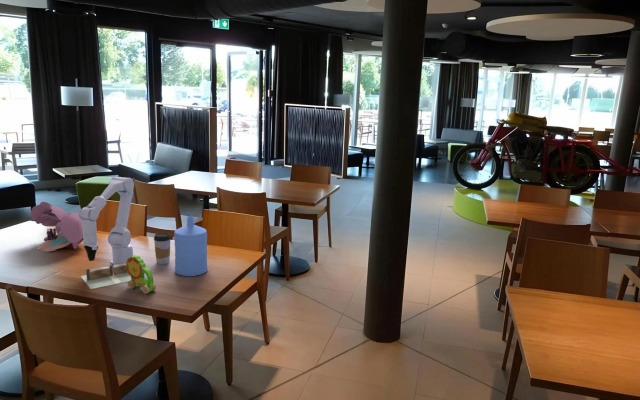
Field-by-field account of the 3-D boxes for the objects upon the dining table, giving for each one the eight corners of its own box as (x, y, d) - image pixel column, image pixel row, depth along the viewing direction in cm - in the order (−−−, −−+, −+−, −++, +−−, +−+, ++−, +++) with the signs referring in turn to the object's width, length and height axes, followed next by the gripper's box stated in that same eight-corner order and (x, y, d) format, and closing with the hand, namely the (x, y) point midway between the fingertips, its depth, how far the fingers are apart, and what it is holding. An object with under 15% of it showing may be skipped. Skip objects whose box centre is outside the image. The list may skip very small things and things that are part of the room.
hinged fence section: (109, 274, 231) (108, 265, 230) (110, 275, 230) (109, 266, 229) (86, 279, 225) (85, 269, 224) (87, 280, 224) (86, 270, 223)
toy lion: (157, 291, 217) (156, 259, 213) (147, 295, 212) (145, 262, 209) (133, 282, 225) (132, 251, 221) (123, 286, 220) (122, 254, 217)
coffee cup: (174, 261, 254) (174, 234, 251) (163, 266, 246) (162, 238, 243) (162, 258, 257) (161, 231, 254) (151, 263, 250) (150, 235, 247)
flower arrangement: (22, 255, 267) (4, 208, 256) (55, 236, 287) (40, 192, 277) (73, 258, 256) (56, 209, 245) (103, 238, 276) (89, 192, 266)
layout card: (132, 266, 244) (132, 266, 244) (144, 278, 231) (144, 277, 230) (80, 276, 229) (80, 276, 229) (90, 289, 216) (90, 288, 216)
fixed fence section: (134, 271, 239) (134, 261, 238) (135, 272, 238) (135, 261, 236) (109, 275, 232) (109, 265, 230) (110, 276, 230) (110, 266, 229)
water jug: (213, 272, 242) (213, 217, 236) (185, 279, 231) (183, 222, 225) (197, 263, 253) (196, 211, 246) (169, 270, 242) (167, 215, 236)
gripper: (76, 230, 230) (78, 257, 233) (84, 237, 219) (86, 266, 222) (92, 228, 234) (94, 254, 237) (101, 235, 223) (102, 263, 226)
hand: (91, 260), depth 230 cm, fingers closed
